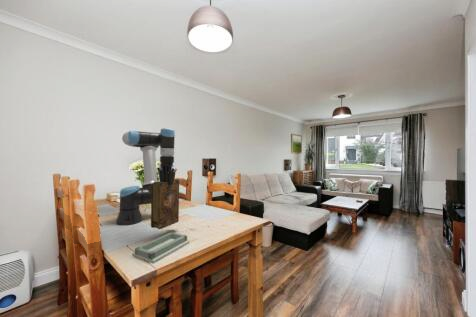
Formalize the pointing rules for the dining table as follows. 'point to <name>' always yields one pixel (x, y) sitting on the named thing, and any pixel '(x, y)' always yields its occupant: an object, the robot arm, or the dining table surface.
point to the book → (164, 204)
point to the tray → (161, 247)
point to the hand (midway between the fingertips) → (166, 197)
